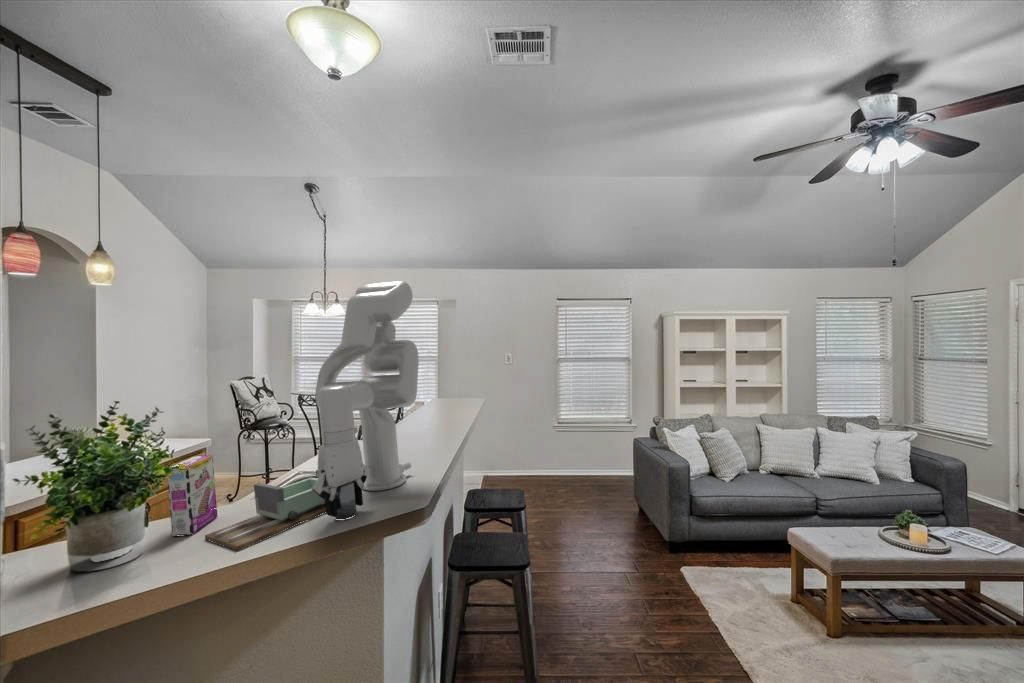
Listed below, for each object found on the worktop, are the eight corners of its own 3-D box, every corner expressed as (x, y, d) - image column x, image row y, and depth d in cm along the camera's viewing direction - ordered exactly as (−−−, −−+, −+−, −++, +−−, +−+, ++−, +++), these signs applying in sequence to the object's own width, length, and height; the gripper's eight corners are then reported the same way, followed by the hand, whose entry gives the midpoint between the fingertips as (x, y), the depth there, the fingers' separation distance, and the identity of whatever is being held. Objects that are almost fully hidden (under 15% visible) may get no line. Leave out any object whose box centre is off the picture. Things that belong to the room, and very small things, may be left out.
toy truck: (310, 494, 128) (307, 466, 128) (339, 500, 121) (336, 470, 121) (254, 515, 115) (251, 484, 115) (283, 523, 108) (280, 489, 108)
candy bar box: (194, 535, 109) (187, 466, 109) (171, 538, 109) (164, 468, 109) (219, 516, 121) (213, 453, 120) (199, 519, 120) (192, 455, 120)
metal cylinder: (347, 511, 117) (345, 479, 117) (361, 514, 114) (358, 481, 114) (330, 518, 113) (327, 486, 113) (344, 522, 110) (341, 488, 110)
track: (315, 497, 130) (313, 485, 130) (347, 503, 122) (346, 490, 122) (205, 539, 106) (203, 524, 106) (237, 551, 99) (236, 535, 99)
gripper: (357, 428, 122) (363, 495, 123) (296, 444, 108) (303, 521, 108) (377, 429, 118) (383, 499, 119) (316, 447, 104) (323, 526, 104)
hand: (345, 509), depth 113 cm, fingers open, 6 cm apart
